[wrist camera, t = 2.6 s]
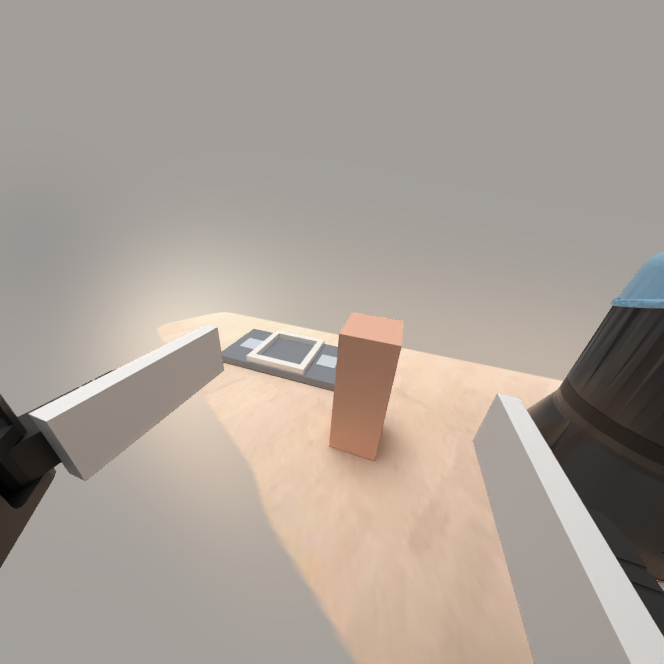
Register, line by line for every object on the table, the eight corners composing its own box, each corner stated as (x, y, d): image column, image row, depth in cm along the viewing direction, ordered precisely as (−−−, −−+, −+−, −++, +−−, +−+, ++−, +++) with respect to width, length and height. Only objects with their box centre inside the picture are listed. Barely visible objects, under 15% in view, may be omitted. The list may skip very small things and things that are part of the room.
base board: (352, 355, 42) (353, 345, 41) (336, 391, 33) (337, 379, 32) (254, 334, 47) (253, 324, 46) (218, 360, 38) (216, 349, 37)
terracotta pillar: (380, 424, 29) (403, 321, 22) (374, 460, 24) (401, 346, 18) (341, 413, 30) (352, 312, 24) (329, 446, 26) (339, 333, 19)
